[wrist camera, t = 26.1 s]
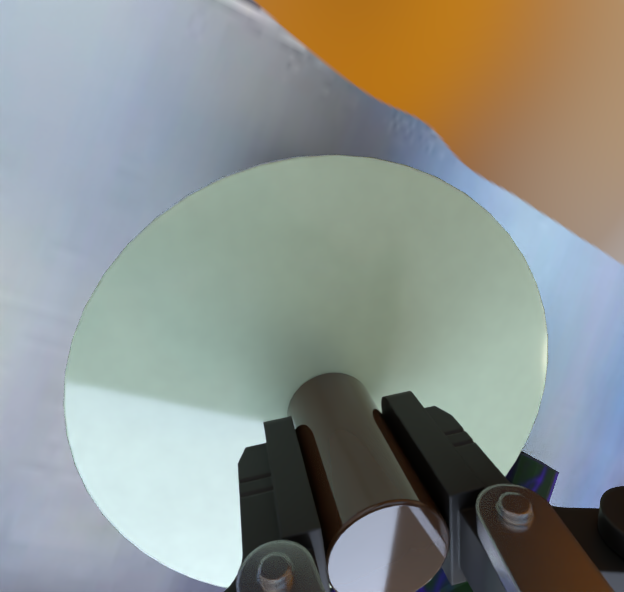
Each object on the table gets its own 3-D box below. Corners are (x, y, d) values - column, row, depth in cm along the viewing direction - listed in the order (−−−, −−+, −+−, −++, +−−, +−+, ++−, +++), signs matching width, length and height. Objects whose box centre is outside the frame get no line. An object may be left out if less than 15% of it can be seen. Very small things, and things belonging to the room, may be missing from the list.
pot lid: (144, 608, 15) (100, 878, 9) (0, 194, 10) (-251, 250, 5) (517, 509, 17) (661, 687, 11) (536, 123, 12) (794, 105, 7)
